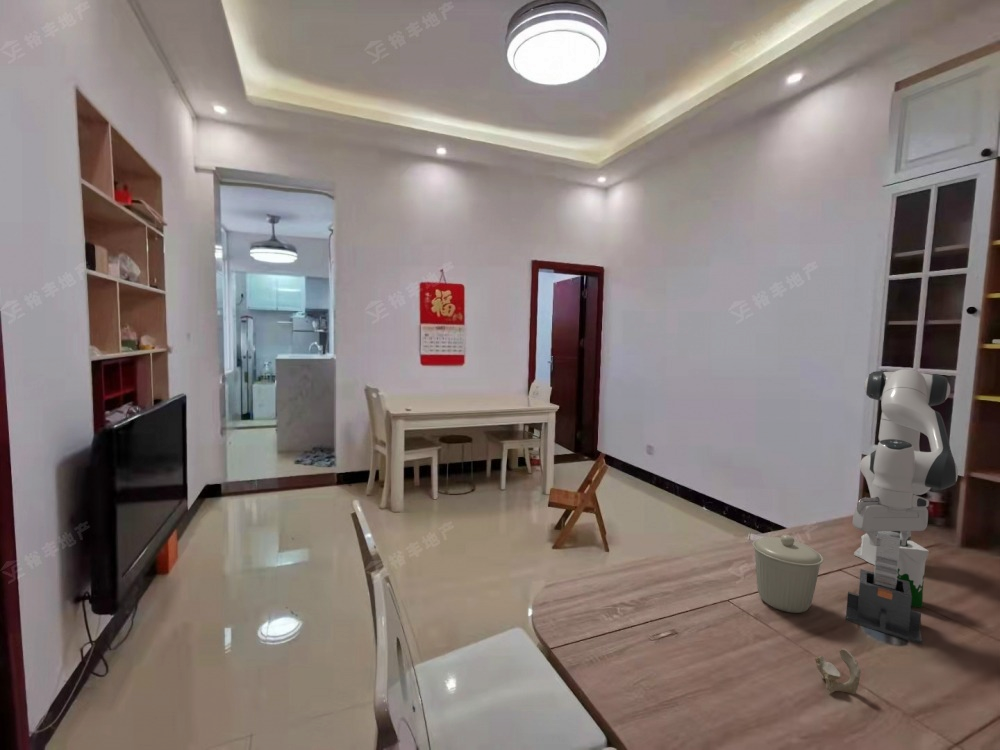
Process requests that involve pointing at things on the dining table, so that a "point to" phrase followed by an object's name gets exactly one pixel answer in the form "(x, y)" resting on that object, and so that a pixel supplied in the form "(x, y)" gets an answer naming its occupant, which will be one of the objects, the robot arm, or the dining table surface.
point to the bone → (832, 673)
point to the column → (887, 559)
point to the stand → (884, 608)
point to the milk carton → (913, 569)
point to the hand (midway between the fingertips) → (887, 545)
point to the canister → (786, 572)
